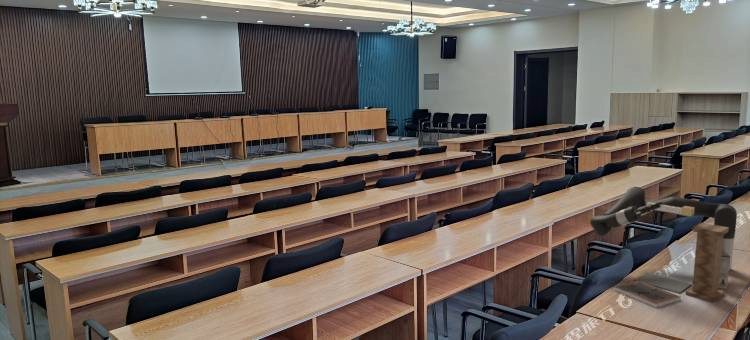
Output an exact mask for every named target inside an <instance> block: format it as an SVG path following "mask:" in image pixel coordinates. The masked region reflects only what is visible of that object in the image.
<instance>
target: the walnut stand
mask: <svg viewBox="0 0 750 340" xmlns="http://www.w3.org/2000/svg"><path fill="white" fill-rule="evenodd" d="M728 230H729V227H723V226H718V225H714V224H712V223H706V222H700V223H698V224H697V225H695V226H693V227H692V232H694V233H697V234H696V243H695V254H694V265H693V266H694V267H693V278H692V285H691V286H690V287H688V288H687V289H686V290H685V295H686V296H690V297H695V298H698V299H701V300H704V301H709V302H713V303H716V302H717V301H719V299H720V298H721V297H723V296H724V295H725V291H724V290H721V289H719V288H718V285H719V275H720V265H721V255H722V245H723V235H724V234H726V233H727V232H728Z"/></svg>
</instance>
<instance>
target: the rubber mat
mask: <svg viewBox="0 0 750 340" xmlns="http://www.w3.org/2000/svg"><path fill="white" fill-rule="evenodd" d="M638 280H639V281H642V282H644V283H647V284H650V285H652V286H655V287H657V288H660V289H662V290H665V291H668V292H671V293H677V294H681V293H683V292H684V291H686V290H688V289H689V288H691V287H692V286H693V283H689V282H686V281H681V280H677V279H673V278H670V277H666V276H663V275H662V276H661V275H658V274H654V273H650V272H644V273H642V274H641V275H640V276H638V277H636V278H635V279H633V282H635V281H638Z"/></svg>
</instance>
